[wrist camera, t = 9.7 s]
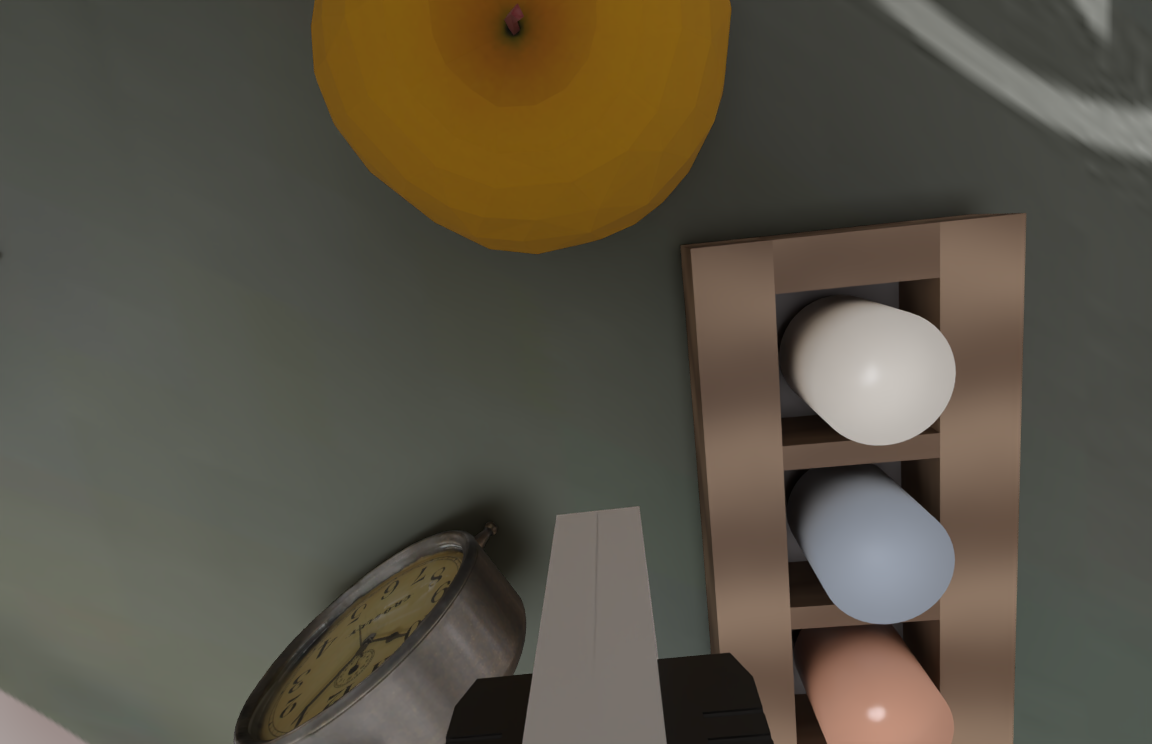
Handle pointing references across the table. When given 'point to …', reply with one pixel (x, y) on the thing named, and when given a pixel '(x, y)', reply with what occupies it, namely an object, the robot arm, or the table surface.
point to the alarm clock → (393, 651)
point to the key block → (861, 450)
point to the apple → (524, 107)
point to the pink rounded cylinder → (870, 687)
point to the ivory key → (868, 368)
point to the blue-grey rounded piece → (870, 543)
